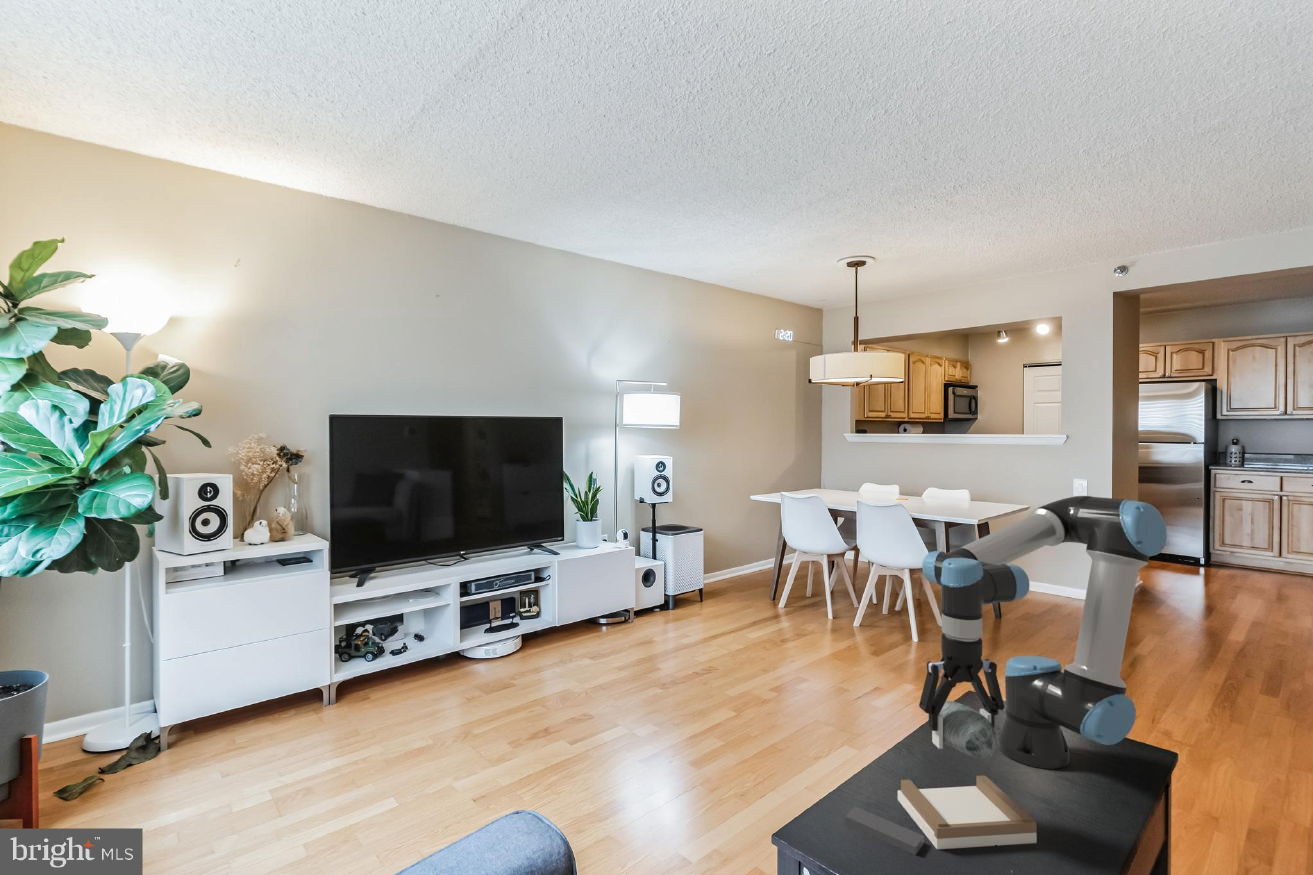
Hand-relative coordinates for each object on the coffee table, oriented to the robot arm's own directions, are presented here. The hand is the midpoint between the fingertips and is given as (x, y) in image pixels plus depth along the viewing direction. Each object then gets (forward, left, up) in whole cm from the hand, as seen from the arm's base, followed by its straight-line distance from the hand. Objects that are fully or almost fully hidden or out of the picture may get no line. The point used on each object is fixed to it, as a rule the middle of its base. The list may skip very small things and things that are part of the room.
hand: (961, 744), depth 128 cm
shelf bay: (0, +1, -15) cm, 15 cm away
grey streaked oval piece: (0, 0, -1) cm, 1 cm away
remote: (+18, +3, -16) cm, 24 cm away
